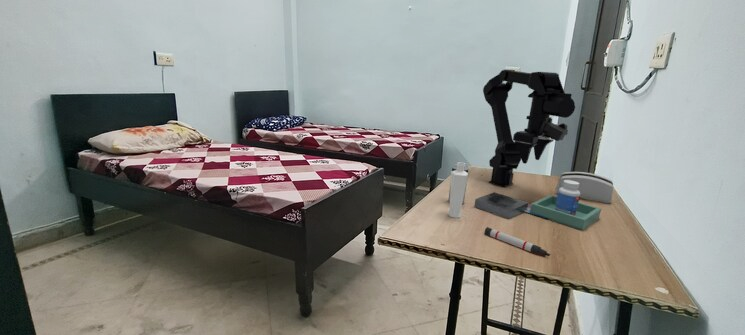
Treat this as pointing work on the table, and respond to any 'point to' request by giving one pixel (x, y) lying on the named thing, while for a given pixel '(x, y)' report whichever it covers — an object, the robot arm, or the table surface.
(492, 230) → the marker
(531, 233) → the table surface
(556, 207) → the pill bottle
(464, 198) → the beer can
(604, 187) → the napkin holder
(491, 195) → the gray square holder
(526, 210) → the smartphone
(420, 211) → the table surface
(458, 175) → the perfume bottle
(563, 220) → the tray
